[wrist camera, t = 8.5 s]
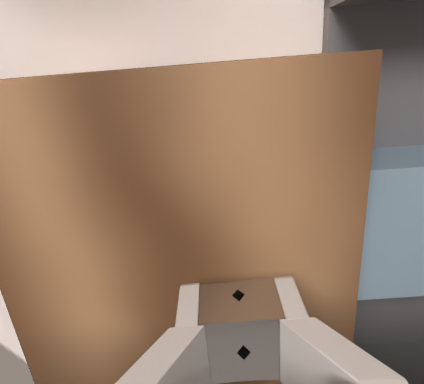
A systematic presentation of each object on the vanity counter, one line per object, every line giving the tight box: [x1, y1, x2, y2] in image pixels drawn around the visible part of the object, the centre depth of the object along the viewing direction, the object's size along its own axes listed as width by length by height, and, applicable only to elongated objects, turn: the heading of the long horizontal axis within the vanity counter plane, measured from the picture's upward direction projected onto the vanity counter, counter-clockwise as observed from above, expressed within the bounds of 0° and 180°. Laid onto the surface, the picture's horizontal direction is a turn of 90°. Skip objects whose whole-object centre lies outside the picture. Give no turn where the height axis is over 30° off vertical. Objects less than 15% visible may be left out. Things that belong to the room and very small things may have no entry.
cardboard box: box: [0, 49, 383, 384], centre depth 12 cm, size 11×12×4 cm
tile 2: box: [357, 145, 424, 300], centre depth 13 cm, size 5×5×2 cm
